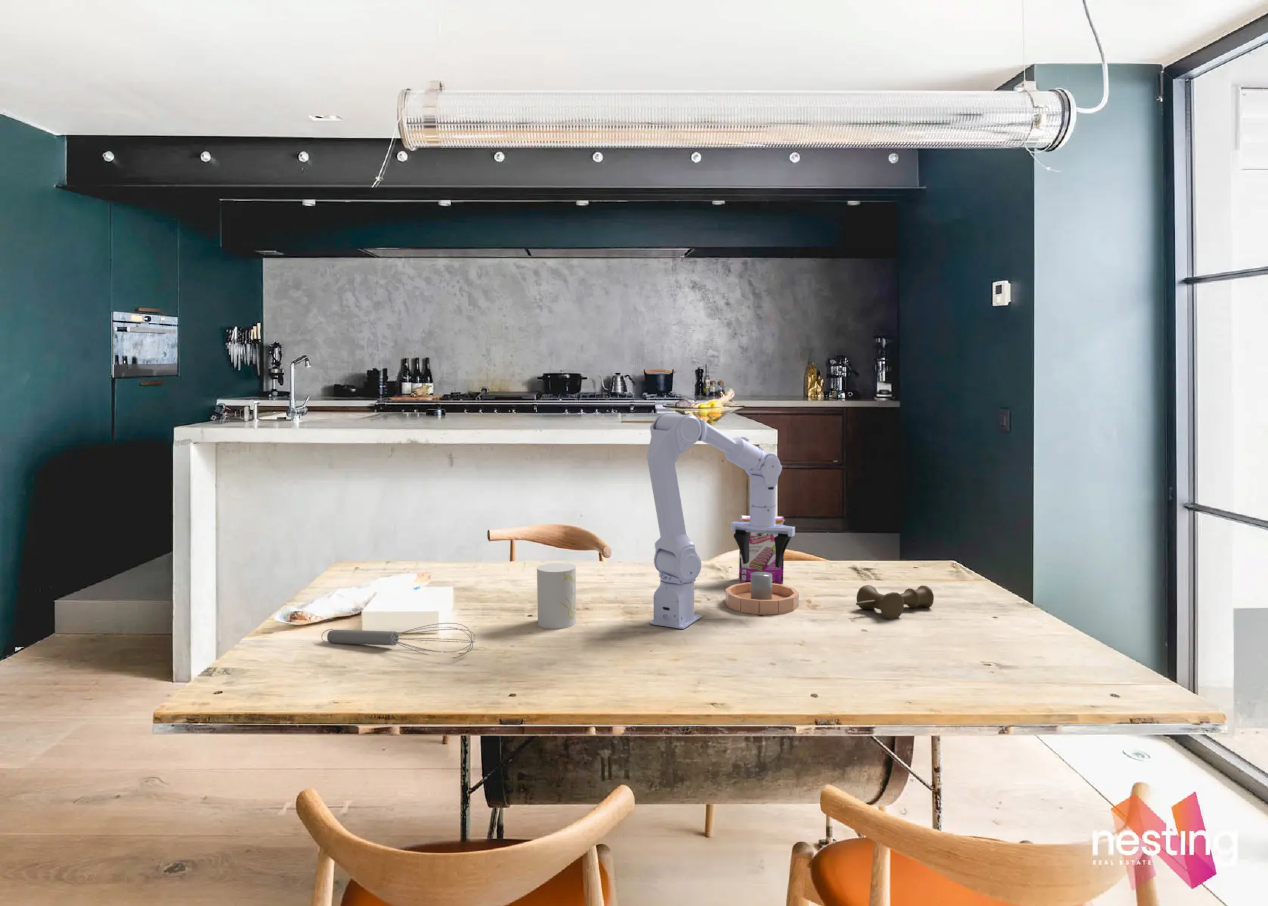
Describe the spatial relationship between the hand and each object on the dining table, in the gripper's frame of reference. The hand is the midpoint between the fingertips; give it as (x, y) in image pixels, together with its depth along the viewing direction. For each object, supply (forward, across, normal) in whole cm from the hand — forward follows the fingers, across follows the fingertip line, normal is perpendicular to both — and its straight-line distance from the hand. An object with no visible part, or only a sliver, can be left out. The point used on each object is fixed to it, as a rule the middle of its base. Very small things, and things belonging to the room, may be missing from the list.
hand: (762, 564), depth 188 cm
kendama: (+10, -28, -8) cm, 30 cm away
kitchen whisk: (+10, +52, +61) cm, 81 cm away
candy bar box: (+9, +7, -20) cm, 23 cm away
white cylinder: (+10, +34, +33) cm, 48 cm away
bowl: (+9, 0, 0) cm, 9 cm away
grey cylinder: (+8, 0, 0) cm, 8 cm away
